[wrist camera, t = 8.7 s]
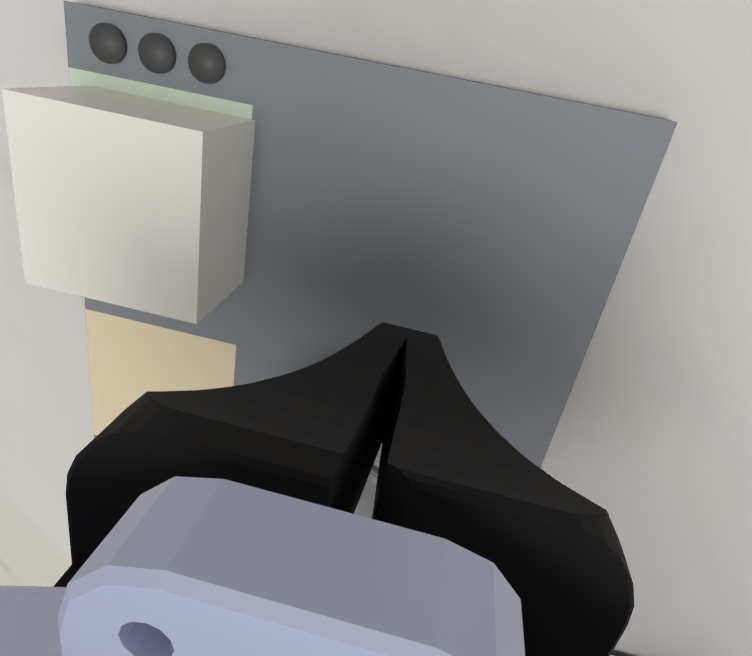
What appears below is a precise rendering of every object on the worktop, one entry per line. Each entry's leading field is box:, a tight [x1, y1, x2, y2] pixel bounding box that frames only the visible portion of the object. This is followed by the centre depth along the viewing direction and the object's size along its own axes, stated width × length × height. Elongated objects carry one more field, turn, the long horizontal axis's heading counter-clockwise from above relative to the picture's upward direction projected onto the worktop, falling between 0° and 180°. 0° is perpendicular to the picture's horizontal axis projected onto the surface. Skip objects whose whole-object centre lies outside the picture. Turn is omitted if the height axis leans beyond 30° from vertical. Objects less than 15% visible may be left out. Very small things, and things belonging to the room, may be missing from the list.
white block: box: [2, 86, 255, 324], centre depth 14 cm, size 4×4×3 cm
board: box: [64, 1, 677, 468], centre depth 18 cm, size 15×22×1 cm
